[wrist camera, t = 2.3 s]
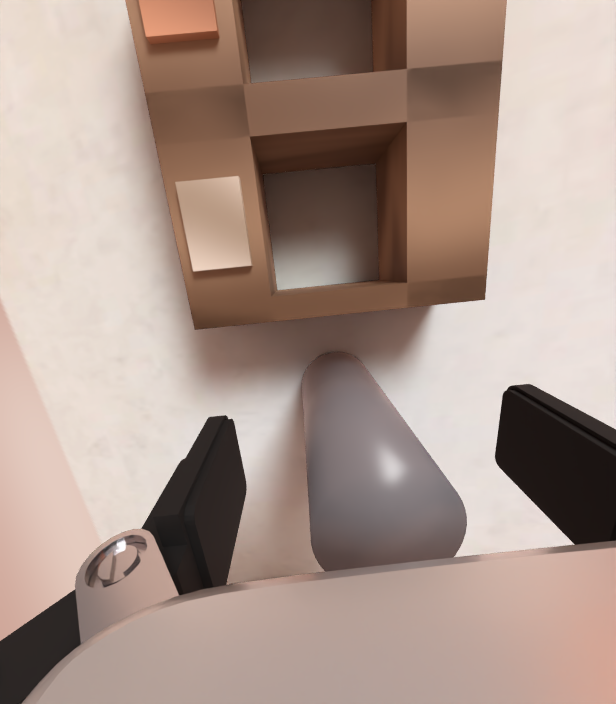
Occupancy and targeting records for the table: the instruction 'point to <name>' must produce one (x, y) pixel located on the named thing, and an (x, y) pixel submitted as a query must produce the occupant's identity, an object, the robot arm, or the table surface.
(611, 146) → the table surface
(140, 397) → the table surface
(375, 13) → the socket block
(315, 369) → the plug
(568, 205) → the table surface
